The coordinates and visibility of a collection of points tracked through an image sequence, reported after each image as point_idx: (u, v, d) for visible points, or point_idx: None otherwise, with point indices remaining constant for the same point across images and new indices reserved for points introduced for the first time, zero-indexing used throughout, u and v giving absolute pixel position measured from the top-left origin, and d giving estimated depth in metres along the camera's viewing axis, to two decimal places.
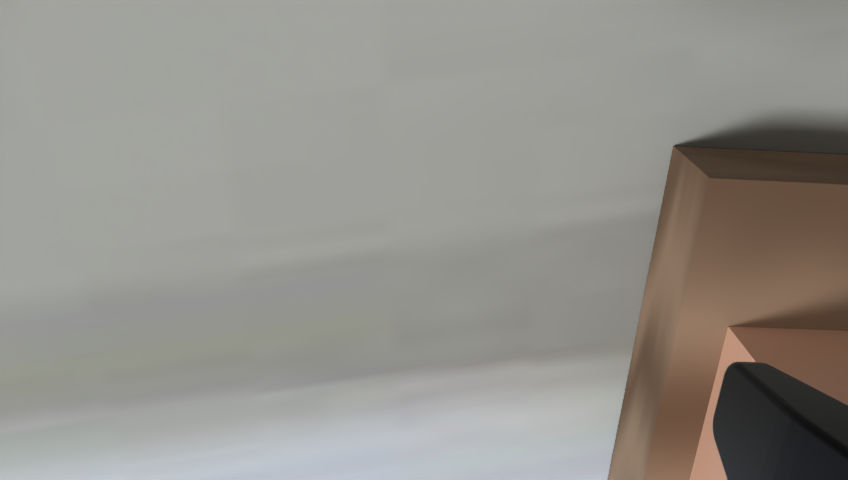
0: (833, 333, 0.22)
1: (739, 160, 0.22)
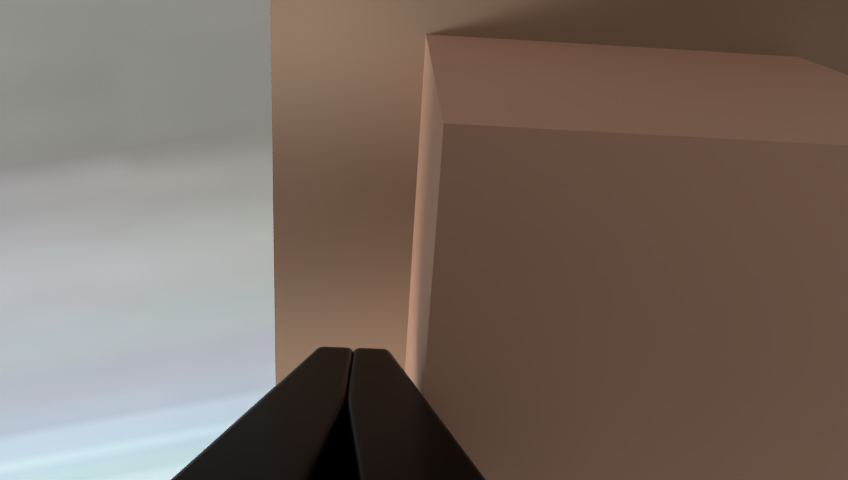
0: (621, 47, 0.12)
1: None
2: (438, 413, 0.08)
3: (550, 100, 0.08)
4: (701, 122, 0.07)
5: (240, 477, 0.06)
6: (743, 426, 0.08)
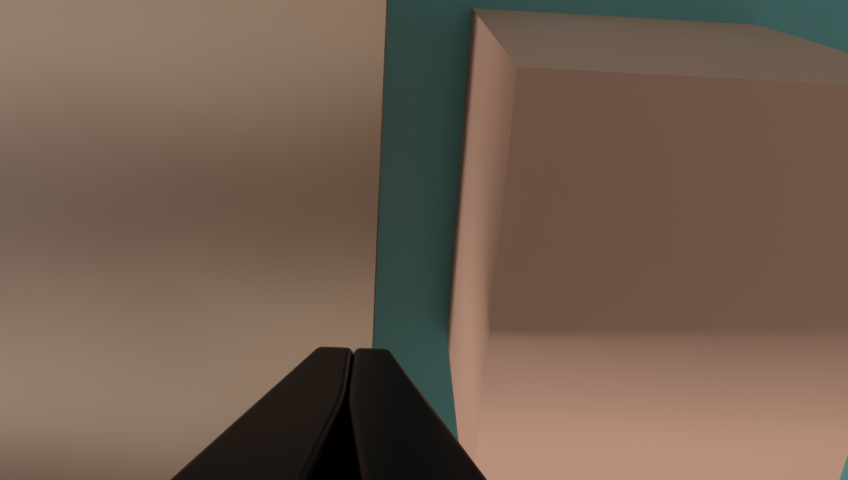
0: (500, 30, 0.12)
1: None
2: None
3: (823, 67, 0.10)
4: (818, 52, 0.11)
5: (239, 477, 0.06)
6: None
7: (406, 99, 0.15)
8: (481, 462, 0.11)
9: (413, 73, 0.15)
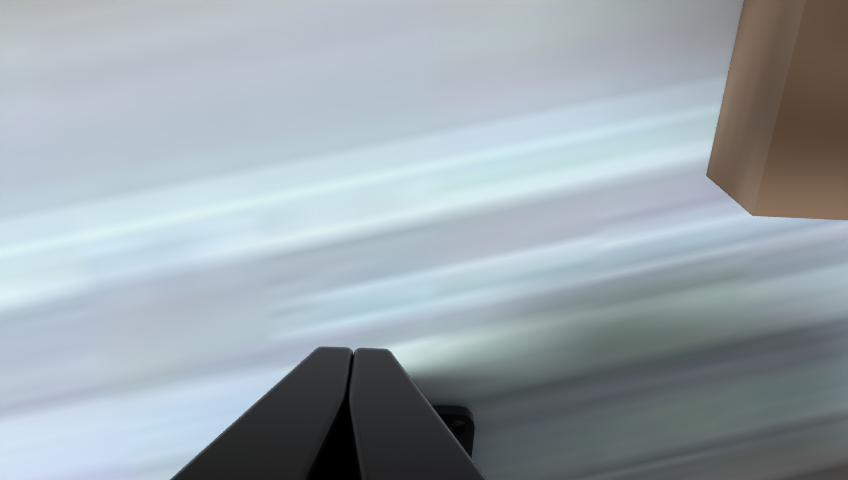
0: None
1: None
2: None
3: None
4: None
5: (239, 477, 0.06)
6: None
7: None
8: None
9: None
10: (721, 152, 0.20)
